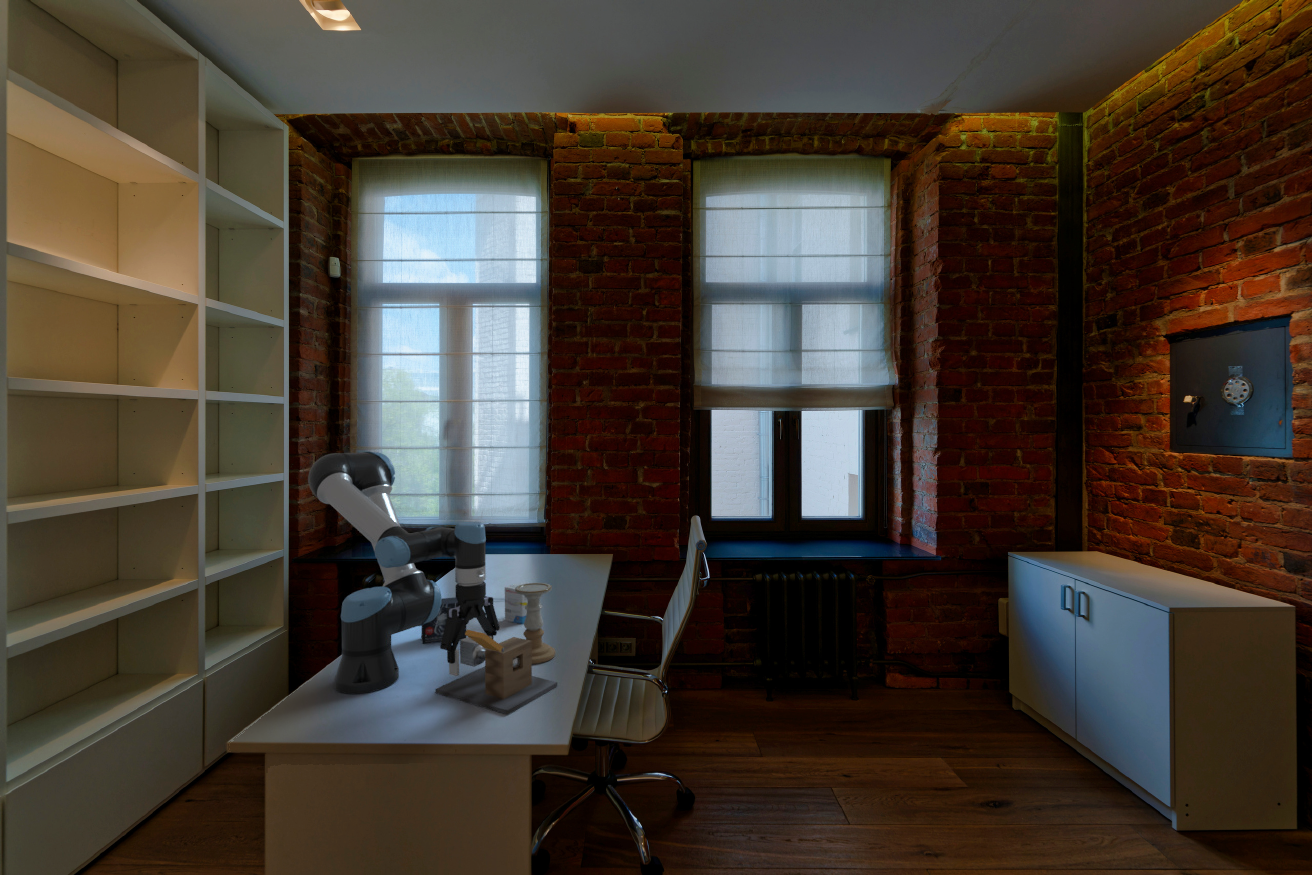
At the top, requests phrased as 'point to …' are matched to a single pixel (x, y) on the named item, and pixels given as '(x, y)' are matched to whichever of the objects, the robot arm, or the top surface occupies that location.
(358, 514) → the robot arm
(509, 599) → the ink box
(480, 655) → the lynch pin
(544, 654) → the candle holder
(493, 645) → the plate
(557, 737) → the top surface
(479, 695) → the hitch block
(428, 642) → the small box
